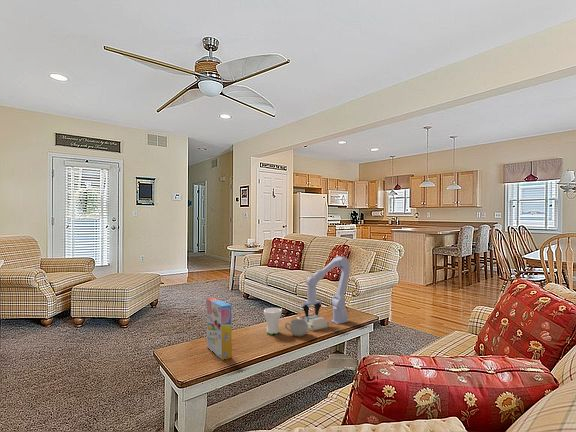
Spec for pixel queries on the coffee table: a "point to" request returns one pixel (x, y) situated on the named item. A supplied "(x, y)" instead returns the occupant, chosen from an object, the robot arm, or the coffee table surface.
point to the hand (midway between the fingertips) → (311, 315)
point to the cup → (272, 320)
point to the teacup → (298, 327)
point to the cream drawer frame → (317, 325)
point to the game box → (219, 327)
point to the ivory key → (316, 320)
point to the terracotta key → (305, 315)
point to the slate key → (310, 317)
